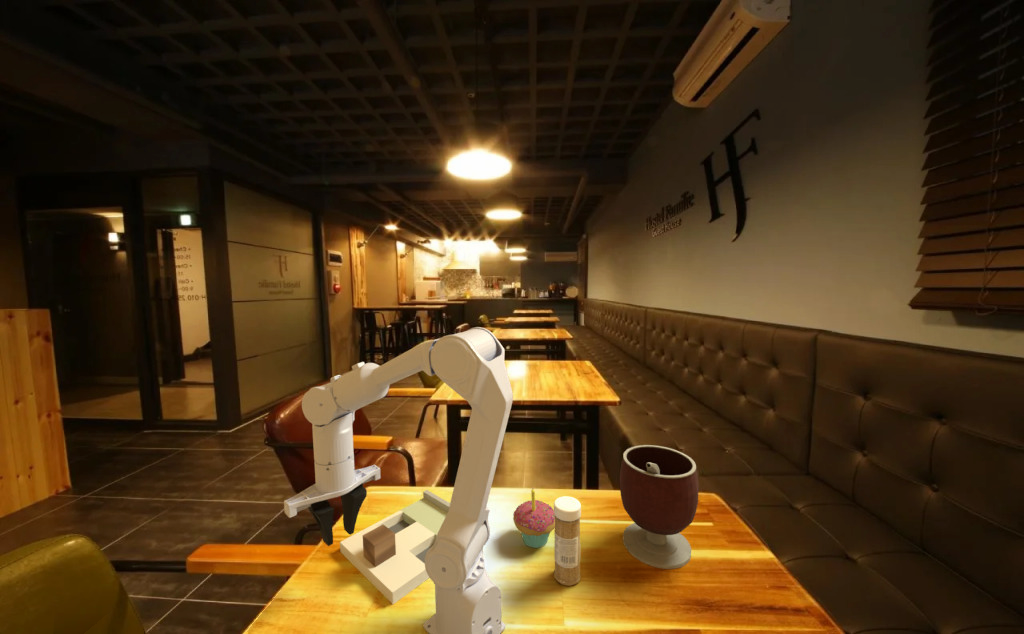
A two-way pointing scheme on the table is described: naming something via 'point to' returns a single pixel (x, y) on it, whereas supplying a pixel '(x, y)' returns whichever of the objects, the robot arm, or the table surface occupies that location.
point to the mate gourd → (658, 504)
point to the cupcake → (534, 521)
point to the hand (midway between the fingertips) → (338, 536)
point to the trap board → (401, 547)
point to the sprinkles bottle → (567, 540)
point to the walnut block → (379, 545)
